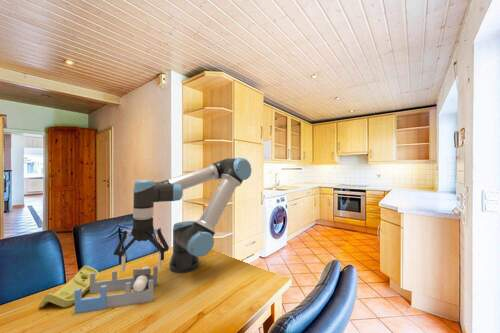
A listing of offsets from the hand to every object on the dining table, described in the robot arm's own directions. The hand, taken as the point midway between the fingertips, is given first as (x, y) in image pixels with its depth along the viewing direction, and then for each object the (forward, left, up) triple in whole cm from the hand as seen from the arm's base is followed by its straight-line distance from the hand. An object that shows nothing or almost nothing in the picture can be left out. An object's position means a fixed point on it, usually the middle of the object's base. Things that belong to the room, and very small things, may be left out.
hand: (141, 269), depth 89 cm
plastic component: (+27, -7, -10) cm, 29 cm away
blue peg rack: (+8, 0, -10) cm, 13 cm away
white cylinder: (0, 0, -6) cm, 6 cm away
